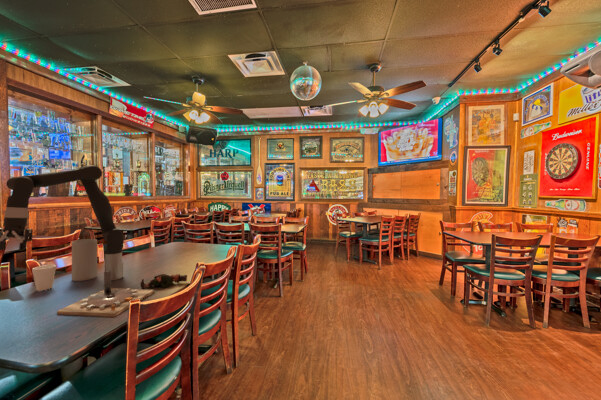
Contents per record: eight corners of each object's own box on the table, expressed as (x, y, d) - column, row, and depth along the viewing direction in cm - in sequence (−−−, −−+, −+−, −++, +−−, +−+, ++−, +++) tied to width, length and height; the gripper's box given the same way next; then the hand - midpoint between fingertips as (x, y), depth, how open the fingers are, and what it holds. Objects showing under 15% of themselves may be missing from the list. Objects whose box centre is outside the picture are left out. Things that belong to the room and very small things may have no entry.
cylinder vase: (82, 282, 153) (82, 243, 153) (66, 280, 155) (66, 242, 155) (102, 275, 166) (101, 239, 165) (86, 274, 167) (86, 238, 167)
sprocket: (108, 289, 138) (108, 268, 138) (148, 290, 137) (148, 269, 137) (66, 308, 115) (66, 283, 114) (113, 310, 114) (113, 284, 113)
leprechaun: (143, 280, 152) (187, 271, 162) (143, 296, 148) (188, 285, 158) (139, 276, 143) (186, 267, 153) (139, 292, 139) (187, 282, 149)
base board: (107, 290, 141) (107, 285, 141) (154, 292, 139) (154, 287, 139) (57, 314, 113) (57, 307, 113) (114, 316, 111) (114, 310, 111)
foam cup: (28, 293, 135) (28, 270, 135) (37, 287, 144) (37, 265, 143) (52, 290, 140) (51, 268, 139) (58, 285, 148) (58, 263, 148)
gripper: (39, 217, 124) (35, 249, 123) (7, 216, 122) (3, 248, 121) (25, 217, 116) (20, 251, 115) (-10, 216, 114) (-14, 250, 113)
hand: (12, 250), depth 118 cm, fingers open, 8 cm apart
